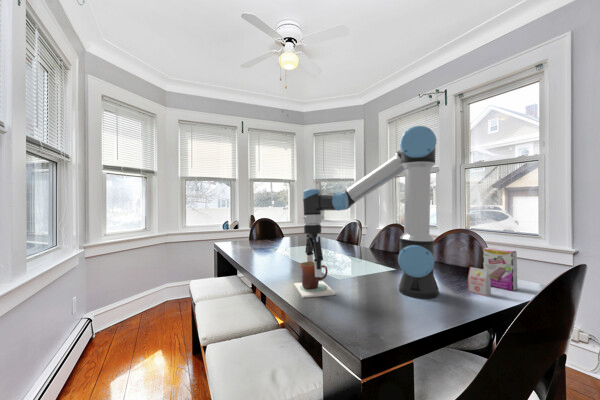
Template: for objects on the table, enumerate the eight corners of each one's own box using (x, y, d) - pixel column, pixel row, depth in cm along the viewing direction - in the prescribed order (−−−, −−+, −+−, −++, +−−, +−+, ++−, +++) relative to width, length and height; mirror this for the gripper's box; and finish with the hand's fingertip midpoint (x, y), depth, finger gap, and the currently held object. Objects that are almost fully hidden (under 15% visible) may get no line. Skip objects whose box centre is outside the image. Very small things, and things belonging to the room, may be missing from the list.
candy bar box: (483, 285, 119) (481, 248, 119) (487, 283, 121) (486, 247, 122) (513, 291, 109) (512, 251, 110) (518, 289, 112) (516, 250, 113)
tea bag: (473, 290, 112) (472, 266, 112) (490, 294, 106) (490, 269, 106) (468, 291, 110) (467, 267, 111) (485, 296, 104) (485, 270, 105)
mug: (299, 290, 112) (298, 266, 112) (301, 284, 121) (300, 261, 121) (327, 290, 111) (327, 266, 111) (327, 284, 120) (327, 261, 120)
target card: (335, 294, 109) (335, 292, 109) (302, 297, 106) (302, 295, 106) (322, 282, 127) (322, 280, 127) (294, 284, 124) (294, 282, 124)
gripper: (298, 223, 128) (299, 267, 128) (311, 226, 104) (313, 281, 103) (313, 222, 130) (314, 266, 129) (329, 225, 105) (331, 279, 105)
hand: (314, 273), depth 116 cm, fingers open, 13 cm apart
